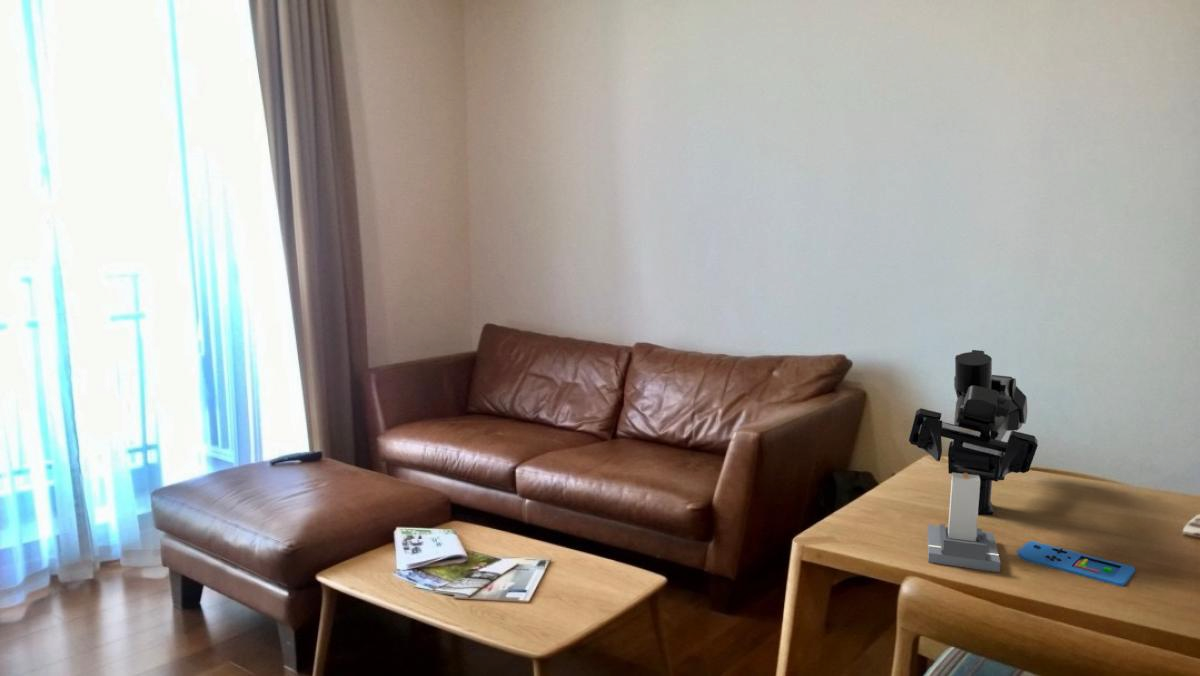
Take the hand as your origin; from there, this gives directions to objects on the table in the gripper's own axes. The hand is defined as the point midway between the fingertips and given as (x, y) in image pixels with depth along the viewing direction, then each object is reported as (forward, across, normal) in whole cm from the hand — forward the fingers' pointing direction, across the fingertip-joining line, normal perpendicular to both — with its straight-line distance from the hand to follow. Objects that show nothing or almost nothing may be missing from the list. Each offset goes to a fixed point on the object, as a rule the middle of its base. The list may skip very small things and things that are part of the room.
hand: (969, 466), depth 130 cm
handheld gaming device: (+2, +18, +12) cm, 22 cm away
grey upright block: (+2, +2, +12) cm, 12 cm away
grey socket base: (+4, +2, +13) cm, 14 cm away
